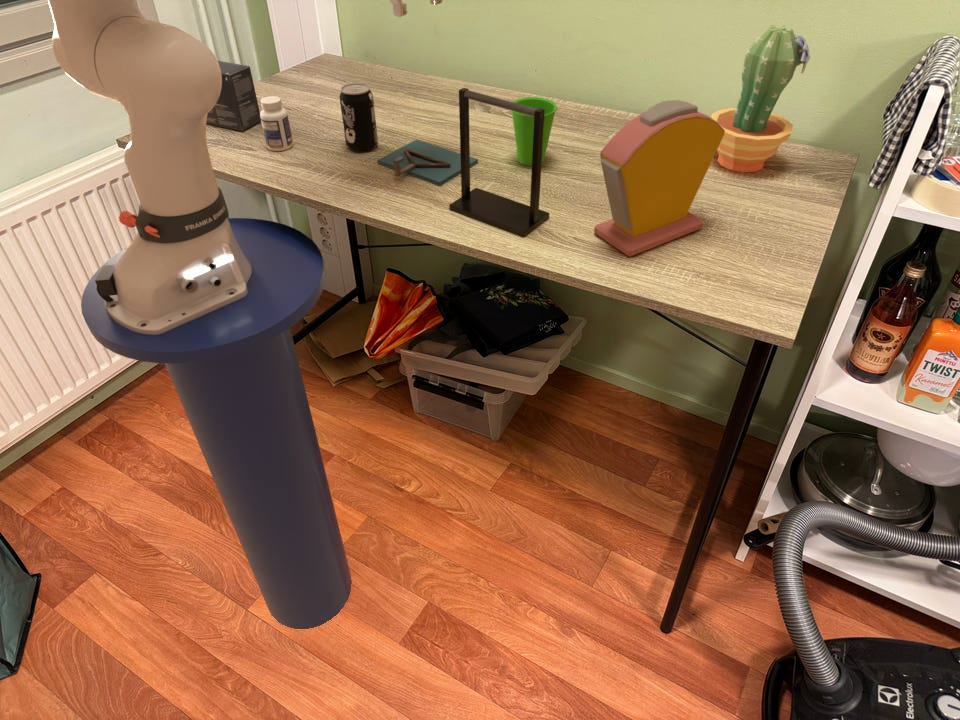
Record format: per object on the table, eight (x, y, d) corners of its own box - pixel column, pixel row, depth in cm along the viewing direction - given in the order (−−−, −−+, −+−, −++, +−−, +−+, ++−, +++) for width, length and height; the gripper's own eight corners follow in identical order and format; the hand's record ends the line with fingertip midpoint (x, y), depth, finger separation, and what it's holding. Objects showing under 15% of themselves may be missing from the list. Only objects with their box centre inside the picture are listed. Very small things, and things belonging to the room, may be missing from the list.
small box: (263, 121, 151) (251, 65, 143) (243, 132, 147) (229, 75, 139) (217, 111, 156) (203, 56, 148) (196, 122, 151) (180, 66, 143)
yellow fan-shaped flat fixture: (675, 202, 123) (700, 81, 108) (714, 225, 117) (746, 99, 102) (580, 238, 114) (593, 110, 100) (616, 263, 108) (636, 132, 94)
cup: (534, 175, 131) (537, 119, 124) (499, 161, 136) (500, 106, 128) (562, 160, 136) (567, 105, 129) (527, 147, 140) (530, 93, 133)
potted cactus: (765, 187, 127) (807, 46, 110) (687, 165, 134) (716, 29, 117) (792, 158, 136) (835, 24, 119) (718, 138, 143) (749, 9, 126)
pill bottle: (285, 138, 144) (275, 92, 138) (298, 146, 141) (289, 99, 135) (262, 146, 142) (251, 99, 135) (275, 154, 139) (265, 106, 132)
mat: (440, 185, 128) (439, 182, 127) (377, 163, 135) (377, 159, 135) (478, 162, 135) (478, 159, 135) (416, 142, 142) (416, 139, 142)
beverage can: (340, 148, 140) (331, 89, 133) (361, 137, 145) (354, 79, 137) (363, 156, 138) (356, 96, 130) (385, 144, 142) (378, 86, 134)
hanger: (451, 167, 132) (420, 185, 126) (405, 151, 137) (373, 168, 132) (451, 150, 130) (418, 169, 124) (404, 135, 135) (371, 152, 129)
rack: (523, 237, 114) (528, 119, 101) (449, 209, 121) (444, 96, 108) (549, 218, 119) (557, 102, 105) (476, 192, 126) (475, 81, 113)
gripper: (439, -96, 115) (442, -6, 124) (354, -80, 103) (364, 19, 112) (469, -93, 112) (469, -1, 121) (385, -75, 100) (392, 26, 109)
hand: (418, 9), depth 116 cm, fingers open, 8 cm apart
